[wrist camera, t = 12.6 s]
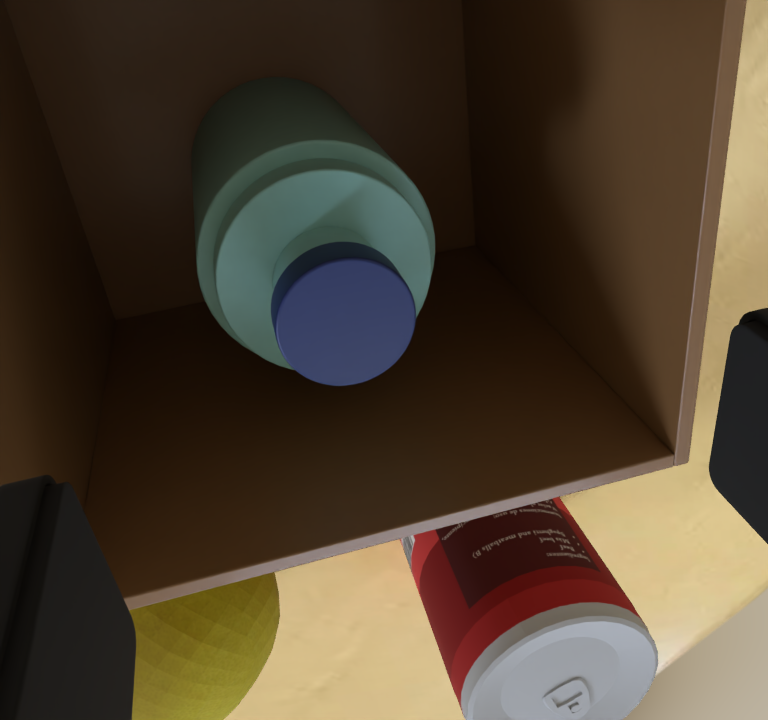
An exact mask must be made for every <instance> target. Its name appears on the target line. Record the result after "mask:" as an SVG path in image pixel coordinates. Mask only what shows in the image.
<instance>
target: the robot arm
mask: <svg viewBox="0 0 768 720" xmlns="http://www.w3.org/2000/svg"><path fill="white" fill-rule="evenodd" d="M709 472H710V477H711V480H712V482H713V484H714V486H715V487H716V489H717V490H718V491H719V492H720V493H721V494H722V496H723V497H724V498H725V499H726V500H727V501H728V502H729V503H730V504H731V505H732V506H733V507H734V508H735V510H736V511H737V512H738V513H739V514H740V515H741V516H742V517H743V518H744V519H745V520H746V521H747V522H748V523H749V525H750V526H751V527H752V528H753V529H754V530H755V531H756V532H757V533H758V534H759V535H760V536H761V537H762V538H763V540H764V541H765V542H766V543H767V544H768V308H764V309H760V310H755V311H751V312H748V313H746V314H744V315H743V317H742V318H741V319H740V322H739V325H737V326H735V327H734V328H733V330H732V332H731V335H730V341H729V347H728V353H727V359H726V365H725V371H724V377H723V383H722V389H721V396H720V402H719V408H718V414H717V420H716V426H715V432H714V438H713V444H712V450H711V456H710V462H709ZM135 659H136V632H135V626H134V622H133V619H132V616H131V614H130V612H129V609H128V607H127V605H126V603H125V601H124V598H123V596H122V594H121V592H120V590H119V588H118V585H117V583H116V581H115V579H114V577H113V574H112V572H111V570H110V568H109V566H108V563H107V561H106V559H105V557H104V555H103V552H102V550H101V548H100V546H99V544H98V542H97V539H96V537H95V535H94V533H93V531H92V528H91V526H90V524H89V522H88V520H87V517H86V515H85V513H84V511H83V509H82V506H81V504H80V502H79V500H78V498H77V496H76V493H75V491H74V489H73V487H72V486H71V484H70V483H69V482H63V483H58V484H57V483H56V482H55V480H54V479H53V478H52V477H51V476H50V475H43V476H38V477H34V478H30V479H25V480H21V481H17V482H12V483H8V484H4V485H2V486H0V720H132V708H133V692H134V675H135Z"/></svg>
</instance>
